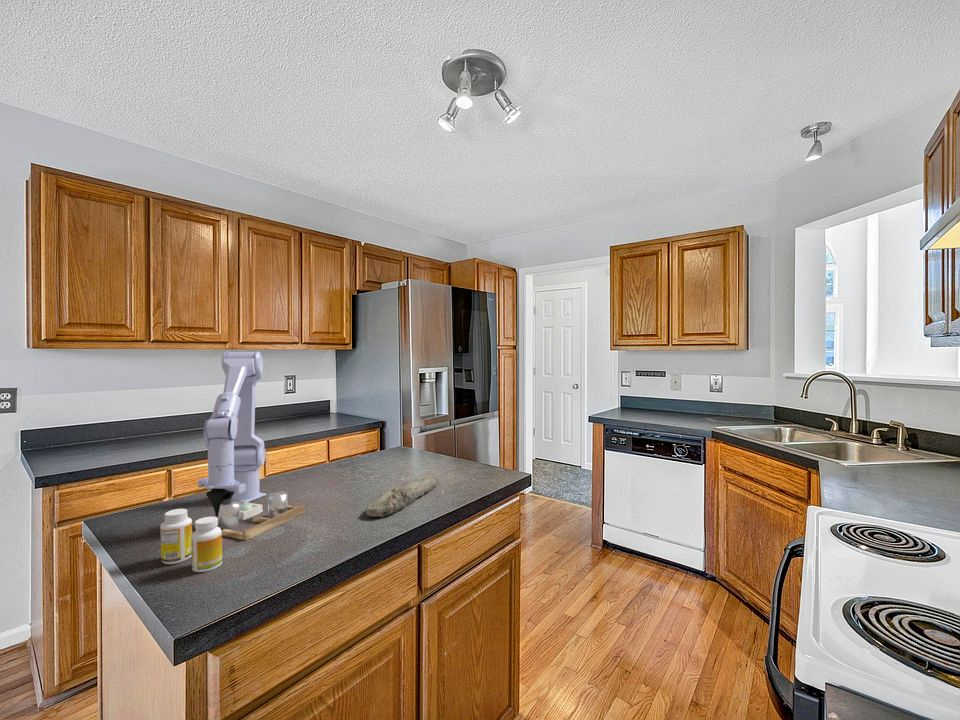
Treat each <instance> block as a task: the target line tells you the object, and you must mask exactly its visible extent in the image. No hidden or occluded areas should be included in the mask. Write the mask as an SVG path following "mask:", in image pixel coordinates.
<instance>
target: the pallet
mask: <svg viewBox="0 0 960 720" xmlns="http://www.w3.org/2000/svg"><path fill="white" fill-rule="evenodd" d="M305 506H306V505H305V504H300V505H298V506H295V505H289V504H288V511H287V512H285V513H282V514H280V515H278V516H276V517H273V518H268V517H265V516H259V515H255V516H252V522H253V523H258V524H256V525H253V526H252V527H249V528H247V529H245V530H243V531H239V530H232V529H223V530H222V537H228V538H232V539H237V540H241V541H242V540H243V541H249V539H252V538H254V537H256V536H259V535H260V534H262V533H265V532H267V531H268V530H271V529H273V528H275V527H277V526H279V525H281V524H283V523H286V522H287V521H290V520H292V519H294V518H296V517H298V516H301V515H303V514H304V513H306V507H305Z"/></svg>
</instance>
